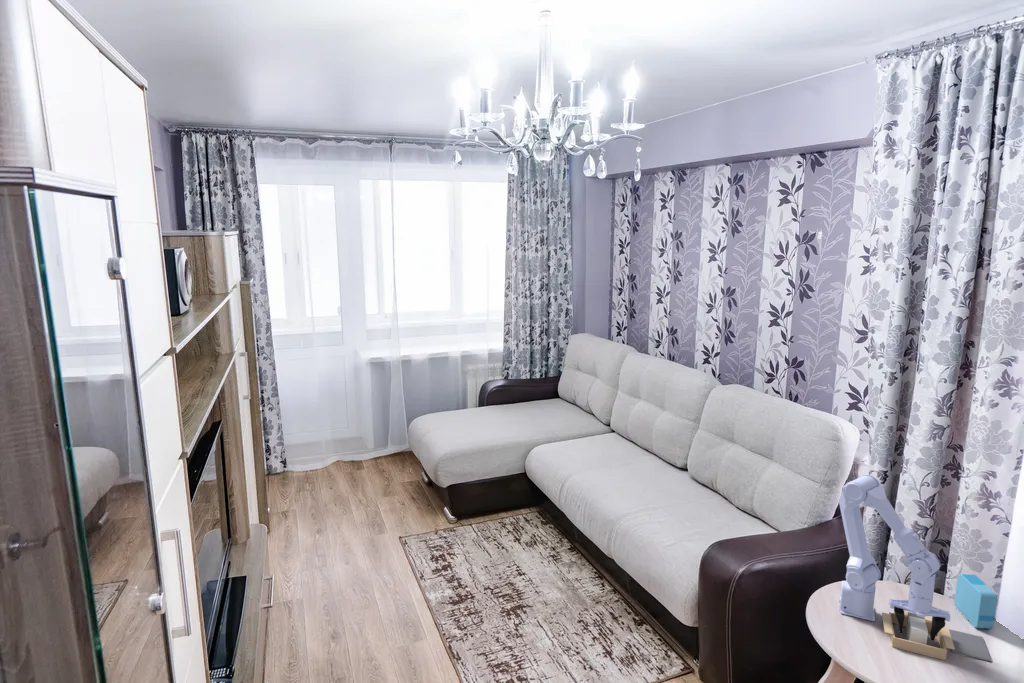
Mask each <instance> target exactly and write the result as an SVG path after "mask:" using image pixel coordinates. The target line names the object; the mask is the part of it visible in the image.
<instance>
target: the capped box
mask: <svg viewBox="0 0 1024 683" xmlns="http://www.w3.org/2000/svg"><path fill="white" fill-rule="evenodd" d="M907 612H908V616H907V625H906V626H905V627H906V628H905V633H906V636H907V640H908V641H912V642H917V643H921V644H925V645H928V644H927V643H928V636H929V635H928V634H929V631H928V630H927V626H926V622H925V618H924V617H919V616H917V614H915V613H912V612H910V611H907Z"/></svg>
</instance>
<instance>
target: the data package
mask: <svg viewBox="0 0 1024 683" xmlns="http://www.w3.org/2000/svg"><path fill="white" fill-rule="evenodd" d="M953 602H954V603H953V604H954V606H956V607H957V608H958V610H959V611H960V612H961V613H962V614H963V615H964V616H965V617H966V618H965V617H964V616H963V615H962V614H961V613H960V612H959V611H958V610H957V611H958V612H959V613H960V614H961V615H962V616H963V617H964V618H965V619H966V620H967V621H968V620H969V621H968V623H970V624H971V626H974V627H973V628H975V629H985V628H986V630H987V629H988V630H989V629H990V630H991V629H993V628H994V623H995V617H996V611H997V605H998V595H997V594H996V593H995V591H993V589H992V588H990V587H989V586H988V584H986V583H985V582H984V581H983V580H982V579H981V578H980V577H979V576H977V575H976V574H971V573H969V574H966V573H965V574H964V573H959V574H957V579H956V586H955V593H954V601H953ZM956 607H955V608H956ZM957 608H956V609H957Z"/></svg>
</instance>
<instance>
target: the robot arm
mask: <svg viewBox="0 0 1024 683" xmlns="http://www.w3.org/2000/svg"><path fill="white" fill-rule="evenodd" d="M838 504H839V509H840V515H841V518H842V524H843V529H844V533H845V539H846V543H847V548H848V553H849V554H848V555H849V558H848V560H847V564H846V566H845V567H846V574H845V579H846V580H841V585H840V596H839V598H838V603H839V611H840V614H842V615H845V616H849V617H855V618H859V619H863V620H865V621H872V622H875V621H876V616H875V610H874V609H875V608H874V607H875V599H876V598H875V597H876V588H877V587H876V586H877V585H876V582H877V581H879V580H880V579H881V577H882V575H881V574H882V573H881V570H880V569H879V567H878V565H877V564H876V559H875V558H874V557H873V556H871V555H870V551H869V546H868V542H867V536H866V532H865V527H864V522H863V518H862V513H861V508H860V507H861V505H862V506H865V507H868V508H872V509H875V510H876V512H877V513H878V514H879V515H880V517H881V518H882V519H883V520H884V521H885V523H886V524H887V525H888V527H889V529H890V530H892V532H893V540H894V541H895V543H896V544H897V546H898V547H899V548H900V550H901V552H902V554H904V556H905V557H906V558H907V560H908V561H909V563H908V565H907V566H908V569H909V571H910V572H911V574H910V575H911V576H910V584H909V592H908V600H905V599H893V598H889V608H890V609H892V610H893V613H894V612H895V615H896V617H897V620H898V623H899V624H898V630H899V633H900V634H904V625H903V623H904V618H905V616H904V611H905V612H910V613H915V614H917V616H919V617H924V618H925V616H927V617H932V626H931V631H929V632H930V633H929V637H930V641H932V642H935V640H936V637H937V634H938V632H939V631H940V630H941V629H942V628H943V627H946V622H950V621H951V614H950V611H947V610H945V609H941V608H938V607H935V606H933V601H934V600H933V599H934V593H935V585H936V573H937V572H938V571H939V570H940V568H941V561H940V559H938V556H937V555H936V554H935V553H933V552H932V551H929V550H928V549H927V548H926V547H925V545H924V544H923V543H922V541H921V539H920V536H919V534H918V533H915V531H914V530H913V529H910V528H908V527H906V526H905V524H904V523H903V521H902V520H901V518H900V517H899V515H898V513H897V512H896V511H895V508H894V507H893V505H892V504H891V502H890V500H889V499H888V498H887V495H886V490H885V488H884V487H883V486H882V485H881V484H880V482H879V480H878V479H877V478H876V476H873V475H871V474H863V475H861V476H859V477H858V478H856V479H853V480H851V481H848V482H846V483H845V484H844V485H843V486H842V487H841V494H840V496H839V499H838Z"/></svg>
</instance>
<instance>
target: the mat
mask: <svg viewBox="0 0 1024 683" xmlns="http://www.w3.org/2000/svg"><path fill="white" fill-rule="evenodd" d="M949 631H950V635H951V638H952V641H953V644H954V648H955V650H954V649H950V651H951V653H952V654H957V655H961V656H965V657H968V658H972V659H977V660H981V661H985V662H989V663H991V662H992V659H991V656H990V654H989V652H988V649H987V646H986V644H985V640H984V639H983V636H979V635H975V634H971V633H967V632H963V631H958V630H954V629H949Z"/></svg>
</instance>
